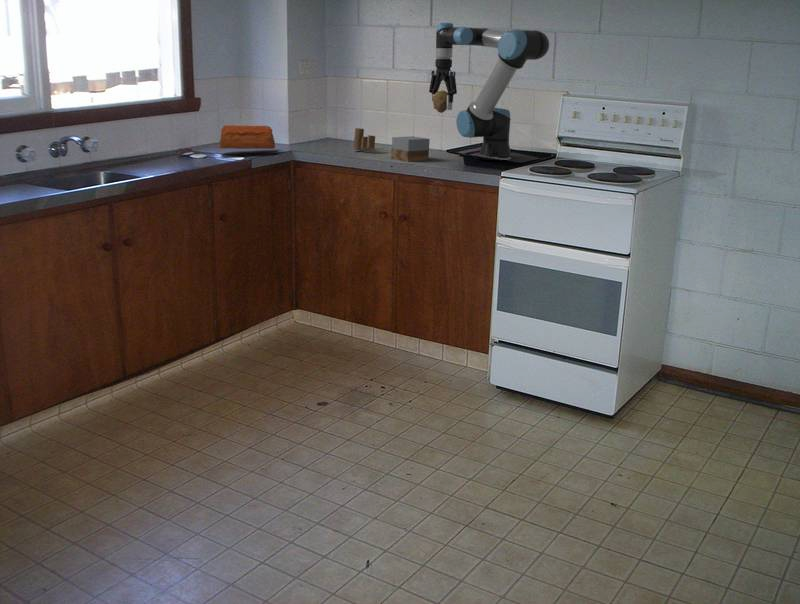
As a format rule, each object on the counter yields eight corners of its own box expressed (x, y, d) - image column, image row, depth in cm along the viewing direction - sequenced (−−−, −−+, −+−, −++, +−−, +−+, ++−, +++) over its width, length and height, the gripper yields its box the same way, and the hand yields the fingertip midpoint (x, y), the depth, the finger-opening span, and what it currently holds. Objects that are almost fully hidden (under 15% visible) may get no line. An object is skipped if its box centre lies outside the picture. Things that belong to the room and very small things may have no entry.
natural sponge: (448, 112, 410) (448, 90, 408) (454, 113, 402) (455, 91, 399) (429, 112, 408) (430, 90, 405) (436, 113, 399) (436, 90, 397)
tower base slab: (428, 161, 398) (428, 150, 397) (407, 162, 391) (408, 151, 389) (411, 158, 407) (411, 147, 406) (391, 159, 400) (391, 148, 398)
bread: (219, 145, 436) (219, 124, 433) (274, 146, 441) (273, 124, 438) (219, 149, 421) (218, 126, 418) (275, 149, 426) (275, 127, 423)
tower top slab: (429, 150, 397) (429, 138, 395) (408, 151, 390) (408, 139, 388) (412, 147, 406) (413, 136, 404) (391, 148, 399) (392, 137, 397)
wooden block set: (377, 152, 423) (379, 131, 421) (360, 151, 420) (362, 129, 418) (365, 149, 440) (367, 128, 437) (349, 148, 436) (351, 127, 434)
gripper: (466, 59, 393) (464, 110, 399) (434, 58, 409) (432, 107, 415) (454, 58, 388) (452, 110, 394) (421, 58, 404) (420, 108, 410)
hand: (442, 109), depth 404 cm, fingers closed on natural sponge, 9 cm apart
